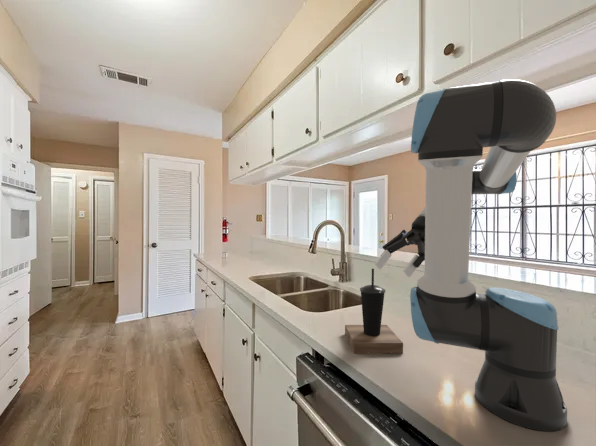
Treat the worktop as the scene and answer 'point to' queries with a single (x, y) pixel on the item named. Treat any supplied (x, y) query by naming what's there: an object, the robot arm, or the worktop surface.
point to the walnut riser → (373, 341)
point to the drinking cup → (372, 307)
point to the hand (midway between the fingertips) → (391, 270)
